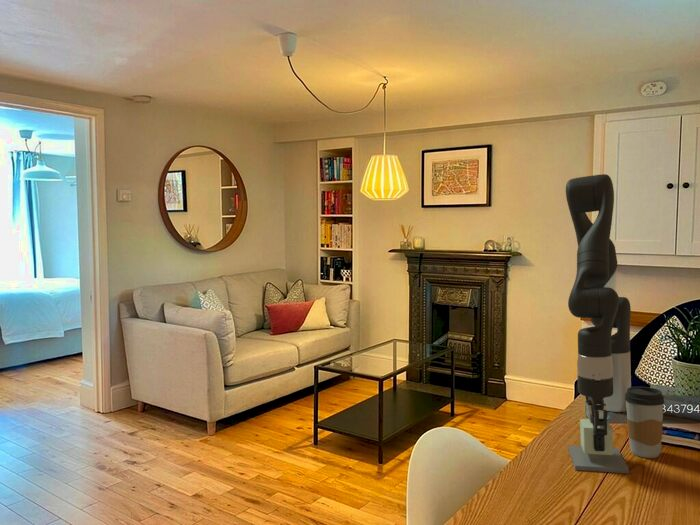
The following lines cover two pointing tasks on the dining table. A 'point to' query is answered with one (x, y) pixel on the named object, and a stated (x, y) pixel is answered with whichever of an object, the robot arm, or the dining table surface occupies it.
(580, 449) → the slate board
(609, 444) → the sage block
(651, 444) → the coffee cup
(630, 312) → the robot arm
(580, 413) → the dining table surface
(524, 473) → the dining table surface
